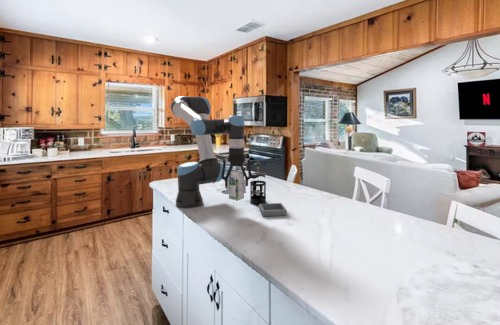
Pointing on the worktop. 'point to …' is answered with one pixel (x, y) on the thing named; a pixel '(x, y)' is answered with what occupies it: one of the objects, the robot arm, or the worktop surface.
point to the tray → (272, 210)
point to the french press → (257, 196)
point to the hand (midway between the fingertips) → (236, 192)
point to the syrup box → (236, 185)
